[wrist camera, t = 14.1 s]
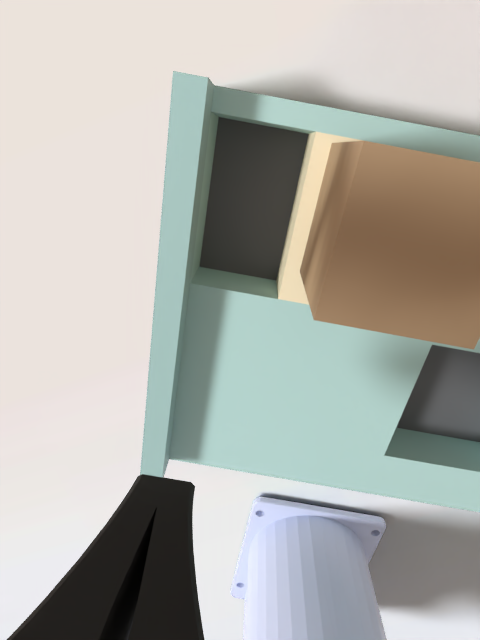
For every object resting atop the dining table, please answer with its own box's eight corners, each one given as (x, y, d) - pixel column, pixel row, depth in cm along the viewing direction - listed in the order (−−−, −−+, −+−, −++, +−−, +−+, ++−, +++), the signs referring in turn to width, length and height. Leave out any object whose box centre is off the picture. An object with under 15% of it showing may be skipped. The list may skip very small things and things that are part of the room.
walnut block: (414, 292, 15) (473, 349, 11) (299, 271, 15) (313, 320, 10) (463, 168, 13) (558, 178, 9) (331, 142, 13) (363, 140, 9)
